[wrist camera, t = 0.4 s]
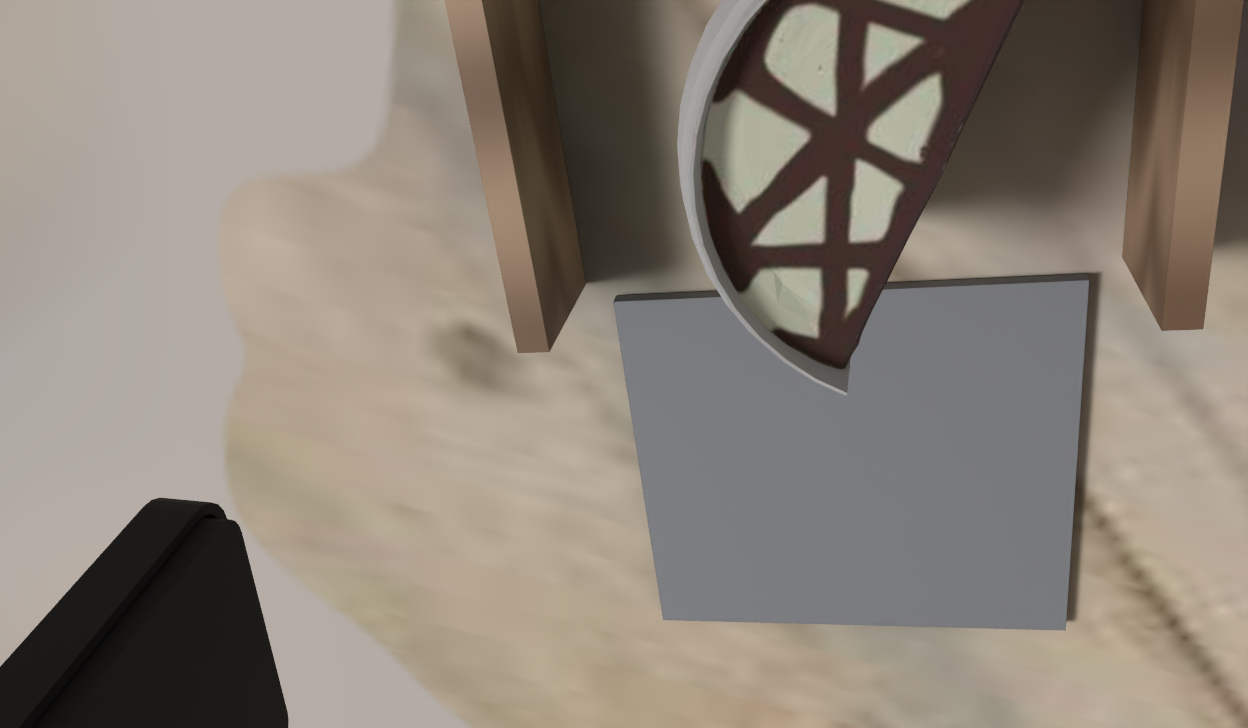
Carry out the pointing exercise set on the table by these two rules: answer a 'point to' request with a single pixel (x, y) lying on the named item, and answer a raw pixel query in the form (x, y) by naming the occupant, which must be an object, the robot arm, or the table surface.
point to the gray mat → (864, 459)
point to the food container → (823, 154)
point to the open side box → (1157, 189)
